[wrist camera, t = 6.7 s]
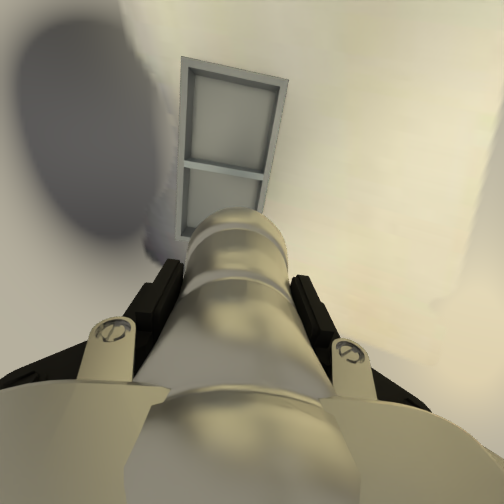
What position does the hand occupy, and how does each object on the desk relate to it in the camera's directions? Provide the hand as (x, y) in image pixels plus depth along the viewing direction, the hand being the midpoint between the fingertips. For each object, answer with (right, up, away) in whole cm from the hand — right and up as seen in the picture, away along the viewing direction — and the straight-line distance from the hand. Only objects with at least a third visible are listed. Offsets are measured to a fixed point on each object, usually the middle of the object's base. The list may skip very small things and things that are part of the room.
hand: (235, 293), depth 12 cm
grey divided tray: (-3, +15, +24) cm, 28 cm away
